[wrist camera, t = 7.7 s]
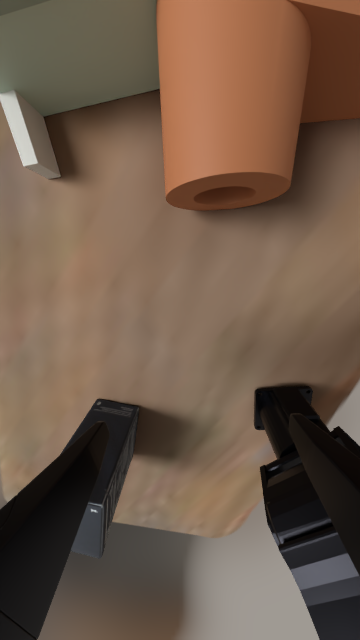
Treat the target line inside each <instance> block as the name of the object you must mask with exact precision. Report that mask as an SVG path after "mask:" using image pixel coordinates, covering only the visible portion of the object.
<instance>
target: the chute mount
mask: <svg viewBox="0 0 360 640" xmlns="http://www.w3.org/2000/svg"><path fill="white" fill-rule="evenodd" d="M156 4H157V0H0V100H1V103H2V106H3V109H4V112H5V115H6V117H7V120H8V123H9V126H10V129H11V132H12V135H13V138H14V140H15V143H16V146H17V149H18V152H19V155H20V158H21V160H22V163H23V166H24V167H26V168H28V169H30V170H32V171H34V172H36V173H38V174H40V175H41V176H43V177H45V178H47V179H52V178H57V177H61V175H60V172H59V168H58V165H57V162H56V158H55V155H54V151H53V148H52V145H51V141H50V138H49V134H48V131H47V128H46V124H45V121H44V118H43V117H44V116H48V115H52V114H56V113H61V112H65V111H69V110H73V109H77V108H82V107H86V106H90V105H94V104H98V103H102V102H107V101H111V100H115V99H119V98H123V97H128V96H132V95H136V94H140V93H144V92H149V91H153V90H157V89H160V79H159V61H158V42H157V24H156Z"/></svg>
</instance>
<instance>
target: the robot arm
mask: <svg viewBox="0 0 360 640" xmlns="http://www.w3.org/2000/svg"><path fill="white" fill-rule="evenodd" d="M307 390H308V391H307ZM258 393H260V394H258ZM312 393H313V390H312V389H311V388H310V387H309V386H300V387H282V388H264V389H257V390H255V399H254V426H255V429H256V430H265V431H266V433H267V436H268V438H269V441H270V443H271V445H272V448H273V450H274V453H275V455H276V458H277V460H275V461H273V462H271V463H269V464H267V465H263V466H261V467H260V472H261V480H262V488H263V496H264V504H265V510H266V516H267V523H268V526H269V528H270V530H271V532H272V535H273V537H274V539H275V541H276V543H277V546H278V547H279V551H280V553H281V554H282V556H283V558H284V559H285V561H286V563H287V565H288V567H289V568H290V570H291V572H292V575H293V576H294V578H295V581H296V583H297V585H298V587H299V589H300V591H301V593H302V596H303V599H304V601H305V603H306V606H307V608H308V611H309V613H310V616H311V618H312V621H313V624H314V626H315V629H316V631H317V634H318V636H319V639H320V640H360V446H359V445H358V444H357V443H356V442H355V441H354V440H353V439H352V438H351V437H350V436H349V435H348V434H347V433H345V432H344V431H343V430H342V429H341V428H340V427H339V426H338V427H336V428H334V430H333V431H331V432H330V431H329V430H328V428H327V427H326V425H325V424H324V423H323V422H322V420H321V419H320V417H319V415H318V414H317V412H316V411H315V410H314V409H313V407H312V406H311V400H312ZM109 436H110V433H109V430H108V427H107V424H106V422H105V421H98V422H96V423H95V424H94V425H93V426H91V427H90V428H89V429H88V430H87V431H86V432H85V433H84V434H83V435H82V436H80V437H79V438H78V439H77V440H76V441H75V442H74V443H73V444H72V445H71V446H70V447H68V448H67V449H66V450H65V451H64V452H63V453H62V454H61V455H60V456H59V457H57V458H56V459H55V460H54V461H53V462H52V463H51V464H50V465H49V466H48V467H46V468H45V469H44V470H43V471H42V472H41V473H40V474H39V475H38V476H37V477H35V478H34V479H33V480H32V481H31V482H30V483H29V484H28V485H27V486H26V487H25V488H23V489H22V490H21V491H20V492H19V493H18V494H17V495H16V496H15V497H13V498H12V499H11V500H10V501H9V502H8V503H7V504H6V505H5V506H4V507H2V508H1V509H0V640H37V639H38V637H39V635H40V632H41V629H42V626H43V624H44V621H45V618H46V615H47V613H48V610H49V607H50V605H51V602H52V599H53V597H54V594H55V591H56V589H57V586H58V583H59V581H60V578H61V575H62V572H63V570H64V567H65V564H66V562H67V559H68V556H69V554H70V551H71V548H72V546H73V543H74V540H75V537H76V535H77V532H78V529H79V527H80V524H81V521H82V519H83V516H84V513H85V511H86V508H87V505H88V502H89V500H90V497H91V494H92V492H93V489H94V486H95V484H96V481H97V478H98V475H99V472H100V469H101V466H102V462H103V458H104V455H105V451H106V448H107V444H108V440H109Z"/></svg>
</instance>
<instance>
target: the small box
mask: <svg viewBox="0 0 360 640" xmlns="http://www.w3.org/2000/svg"><path fill="white" fill-rule="evenodd" d="M138 415H139V407H136V406H131V405H126V404H120V403H116V402H111V401H106V400H100V399H97V400H96V402H95V403H94V405H93V406H92V408H91V409H90V411H89V412H88V414H87V415H86V417H85V418H84V420H83V421H82V423H81V424H80V426H79V427H78V429H77V430H76V432H75V433H74V435H73V436H72V438H71V439H70V441H69V442H68V444H67V445H66V447H65V448H64V450H63V451H62V453H63V452H64V451H65V450H66V449H67V448H68V447H70V446H71V445H72V444H73V443H74V442H75V441H76V440H77V439H78V438H79V437H80V436H82V435H83V434H84V433H85V432H86V431H87V430H88V429H89V428H90V427H91V426H93V425H94V424H95V423H96V422H98V421H105V422H106V424H107V427H108V430H109V433H110V436H109V440H108V444H107V448H106V451H105V455H104V458H103V462H102V466H101V469H100V472H99V475H98V478H97V481H96V484H95V486H94V489H93V492H92V494H91V497H90V500H89V502H88V505H87V508H86V511H85V513H84V516H83V519H82V521H81V524H80V527H79V529H78V532H77V535H76V537H75V540H74V543H73V546H72V548H71V551H73V552H76V553H80V554H84V555H88V556H92V557H96V558H101V557H102V555H103V551H104V548H105V544H106V540H107V536H108V533H109V529H110V526H111V522H112V519H113V516H114V513H115V509H116V506H117V503H118V500H119V497H120V493H121V490H122V487H123V484H124V481H125V478H126V474H127V471H128V468H129V465H130V462H131V460H132V457H133V452H134V445H135V438H136V430H137V423H138ZM62 453H61V454H62ZM61 454H60V455H61Z"/></svg>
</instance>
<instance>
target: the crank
mask: <svg viewBox="0 0 360 640" xmlns="http://www.w3.org/2000/svg"><path fill="white" fill-rule="evenodd" d="M156 24H157V42H158V61H159V79H160V98H161V116H162V135H163V153H164V172H165V190H166V200H167V202H168V203H169V204H171V205H172V206H175V207H178V208H182V209H188V210H222V209H234V208H240V207H246V206H251V205H255V204H259V203H262V202H265V201H268V200H271V199H274V198H276V197H278V196H280V195H282V194H283V193H285V192H286V191H287V190H288V189H289V188H290V185H291V178H292V172H293V165H294V158H295V152H296V145H297V139H298V132H299V125H300V123H309V122H321V121H332V120H344V119H355V118H360V0H157V4H156Z"/></svg>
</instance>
